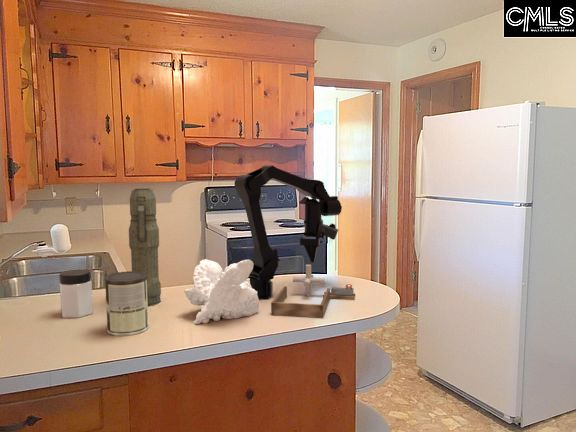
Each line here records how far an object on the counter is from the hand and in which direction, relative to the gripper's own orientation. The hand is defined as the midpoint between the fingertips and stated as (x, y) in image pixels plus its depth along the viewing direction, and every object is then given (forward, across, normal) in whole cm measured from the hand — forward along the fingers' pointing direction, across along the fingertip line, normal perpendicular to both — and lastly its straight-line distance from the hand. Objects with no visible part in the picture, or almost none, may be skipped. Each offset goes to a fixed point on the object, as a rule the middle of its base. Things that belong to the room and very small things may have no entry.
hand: (312, 262), depth 162 cm
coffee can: (+9, -50, +41) cm, 66 cm away
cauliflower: (+9, -35, +21) cm, 42 cm away
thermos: (+9, -27, +48) cm, 56 cm away
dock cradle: (+9, -21, -4) cm, 23 cm away
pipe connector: (+9, -10, 0) cm, 14 cm away
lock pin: (+9, -11, -11) cm, 18 cm away
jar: (+9, -41, +62) cm, 75 cm away
